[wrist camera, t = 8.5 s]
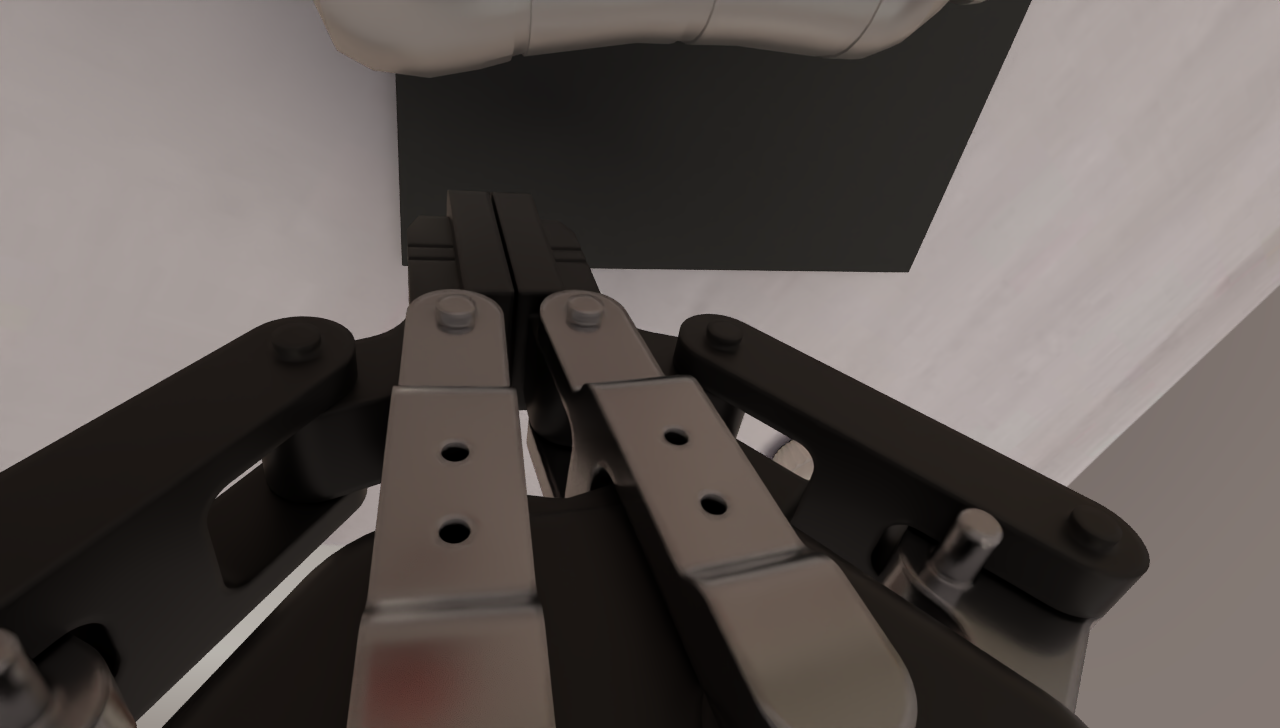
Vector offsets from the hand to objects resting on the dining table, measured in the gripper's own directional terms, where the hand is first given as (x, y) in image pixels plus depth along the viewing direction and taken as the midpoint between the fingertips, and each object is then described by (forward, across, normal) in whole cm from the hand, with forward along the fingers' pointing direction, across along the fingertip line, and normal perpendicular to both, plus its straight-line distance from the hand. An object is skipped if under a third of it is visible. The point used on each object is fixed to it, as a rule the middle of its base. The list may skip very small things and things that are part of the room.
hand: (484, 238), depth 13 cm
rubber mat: (+12, -10, 0) cm, 15 cm away
